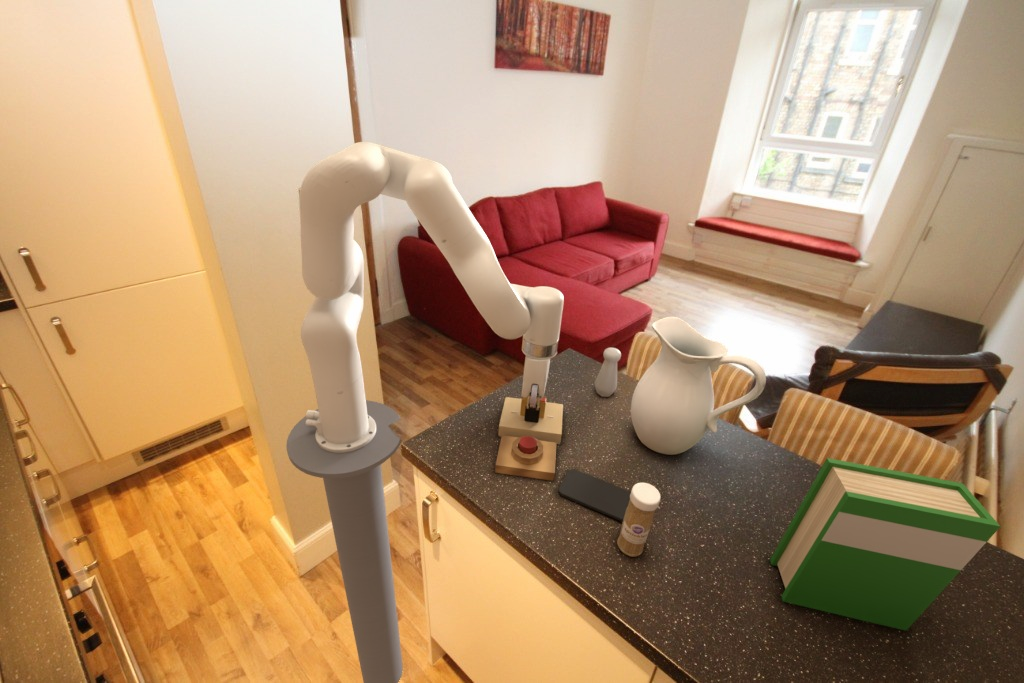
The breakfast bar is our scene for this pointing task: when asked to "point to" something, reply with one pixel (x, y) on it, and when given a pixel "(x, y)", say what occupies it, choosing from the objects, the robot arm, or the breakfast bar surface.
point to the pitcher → (684, 388)
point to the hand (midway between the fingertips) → (532, 411)
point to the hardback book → (878, 542)
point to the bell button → (527, 445)
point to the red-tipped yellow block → (541, 404)
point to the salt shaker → (608, 373)
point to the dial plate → (542, 430)
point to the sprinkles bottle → (638, 518)
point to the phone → (595, 494)
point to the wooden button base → (526, 459)
